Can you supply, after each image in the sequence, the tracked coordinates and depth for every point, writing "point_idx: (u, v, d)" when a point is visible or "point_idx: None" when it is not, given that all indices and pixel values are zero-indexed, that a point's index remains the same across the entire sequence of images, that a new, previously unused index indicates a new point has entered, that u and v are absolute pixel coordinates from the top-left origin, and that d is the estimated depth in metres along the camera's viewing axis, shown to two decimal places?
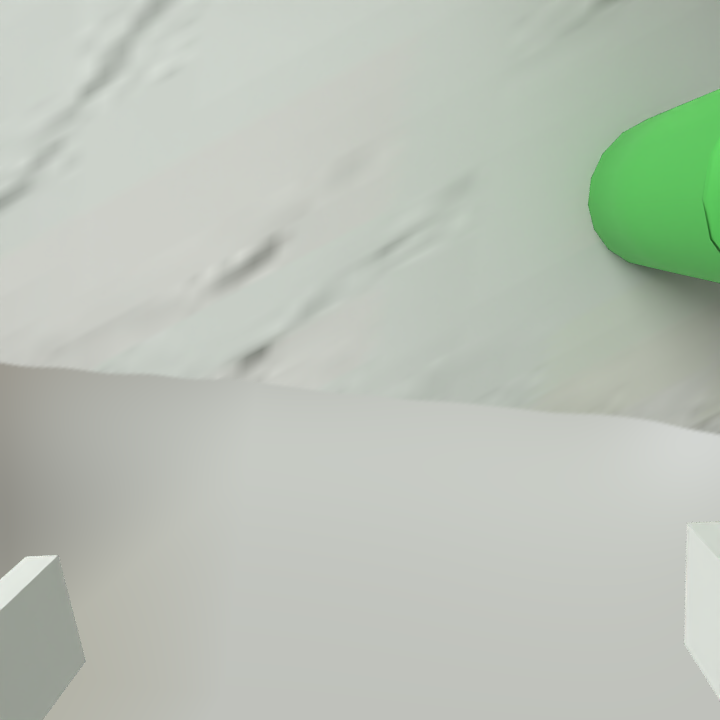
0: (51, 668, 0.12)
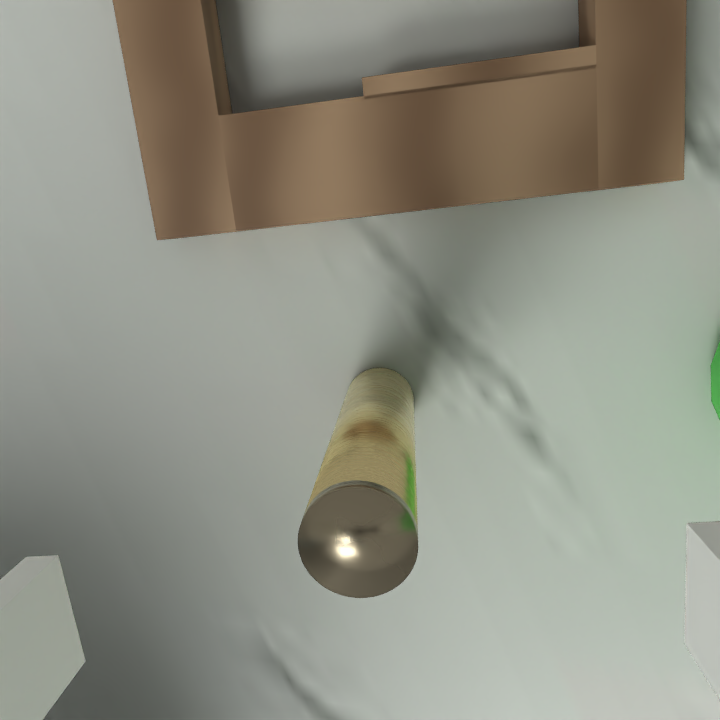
0: (51, 668, 0.12)
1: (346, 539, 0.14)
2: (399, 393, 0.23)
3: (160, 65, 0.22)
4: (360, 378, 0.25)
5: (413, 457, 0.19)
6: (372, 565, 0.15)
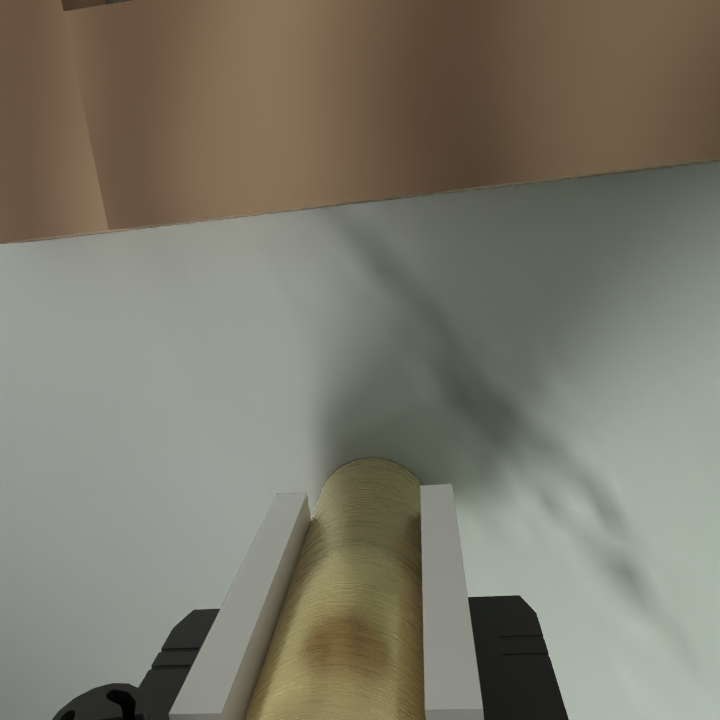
0: None
1: None
2: (406, 525, 0.13)
3: None
4: (339, 482, 0.15)
5: None
6: None
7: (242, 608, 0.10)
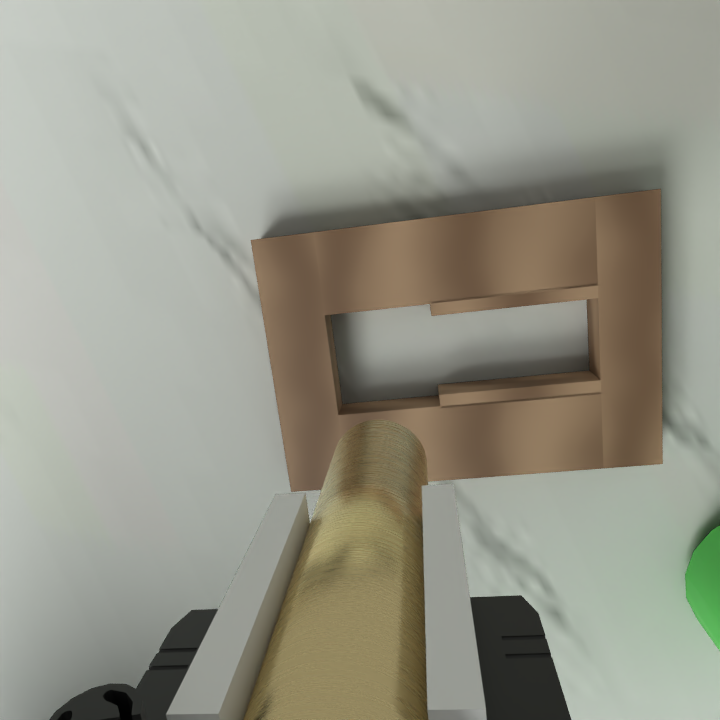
0: None
1: None
2: (407, 468, 0.16)
3: (298, 383, 0.31)
4: (351, 437, 0.17)
5: None
6: None
7: (240, 608, 0.10)
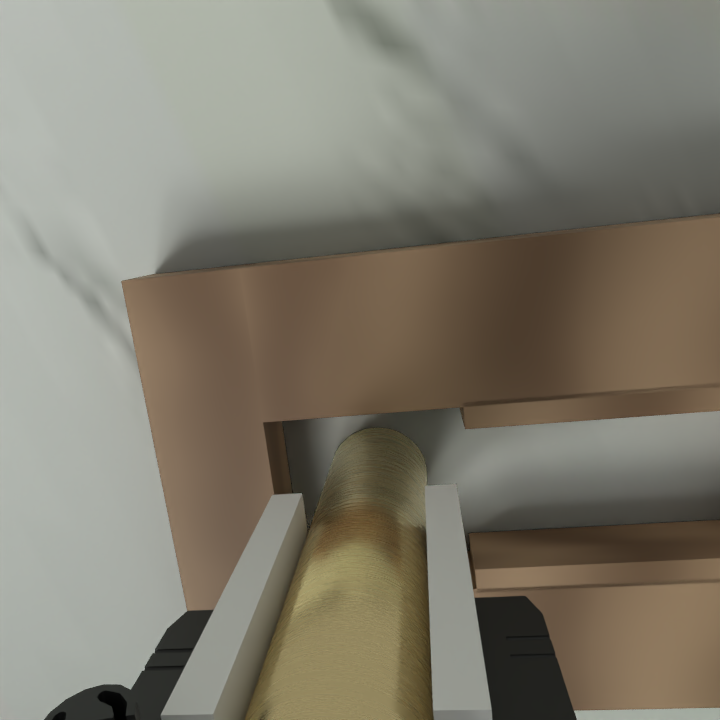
0: None
1: None
2: (407, 477, 0.15)
3: (217, 539, 0.17)
4: (350, 445, 0.17)
5: None
6: None
7: (236, 609, 0.10)
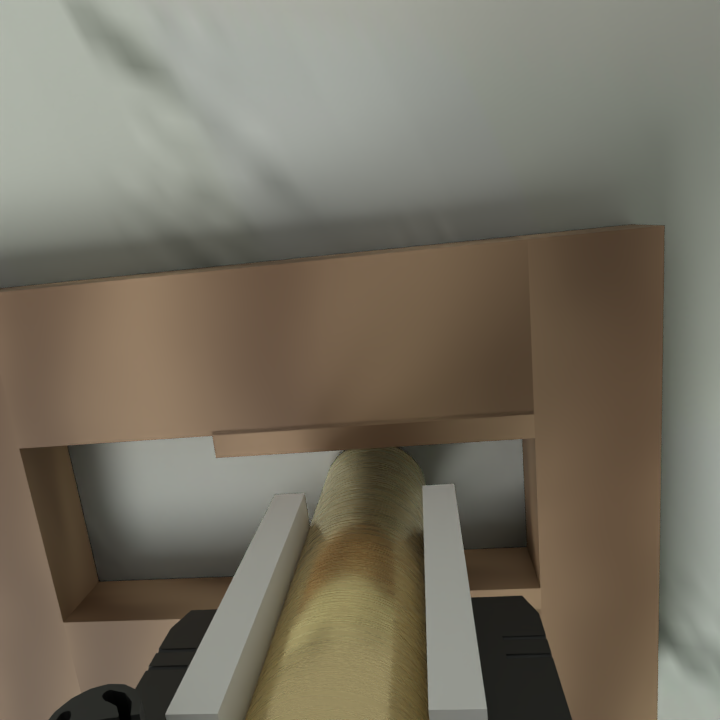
0: None
1: None
2: (409, 502, 0.14)
3: None
4: (349, 460, 0.16)
5: None
6: None
7: (239, 608, 0.10)
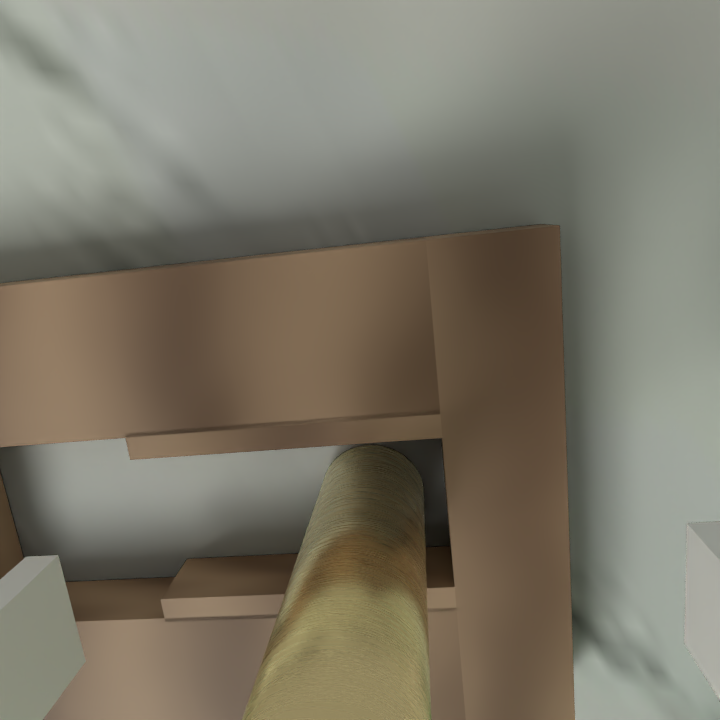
0: (51, 668, 0.12)
1: None
2: (407, 508, 0.14)
3: None
4: (348, 463, 0.16)
5: (429, 685, 0.10)
6: None
7: None
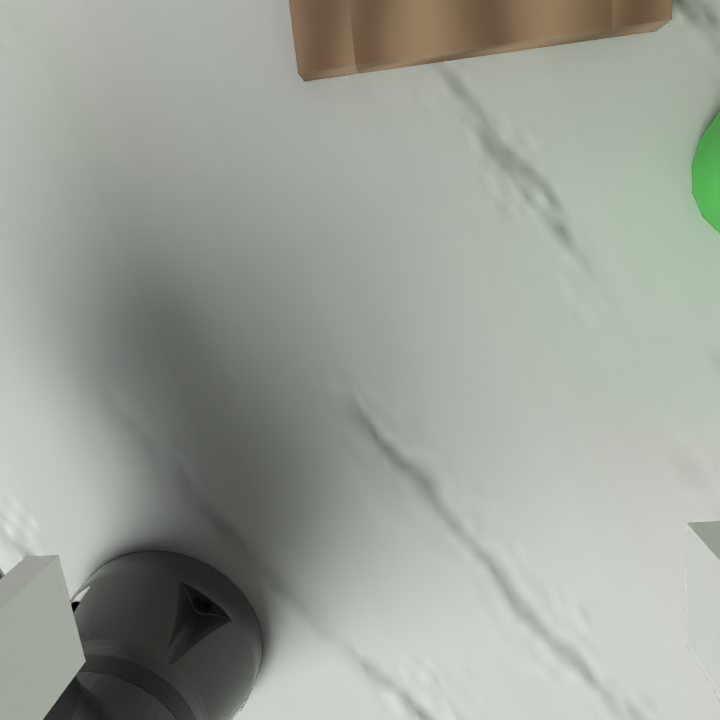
0: (51, 668, 0.12)
1: None
2: None
3: None
4: None
5: None
6: None
7: None
